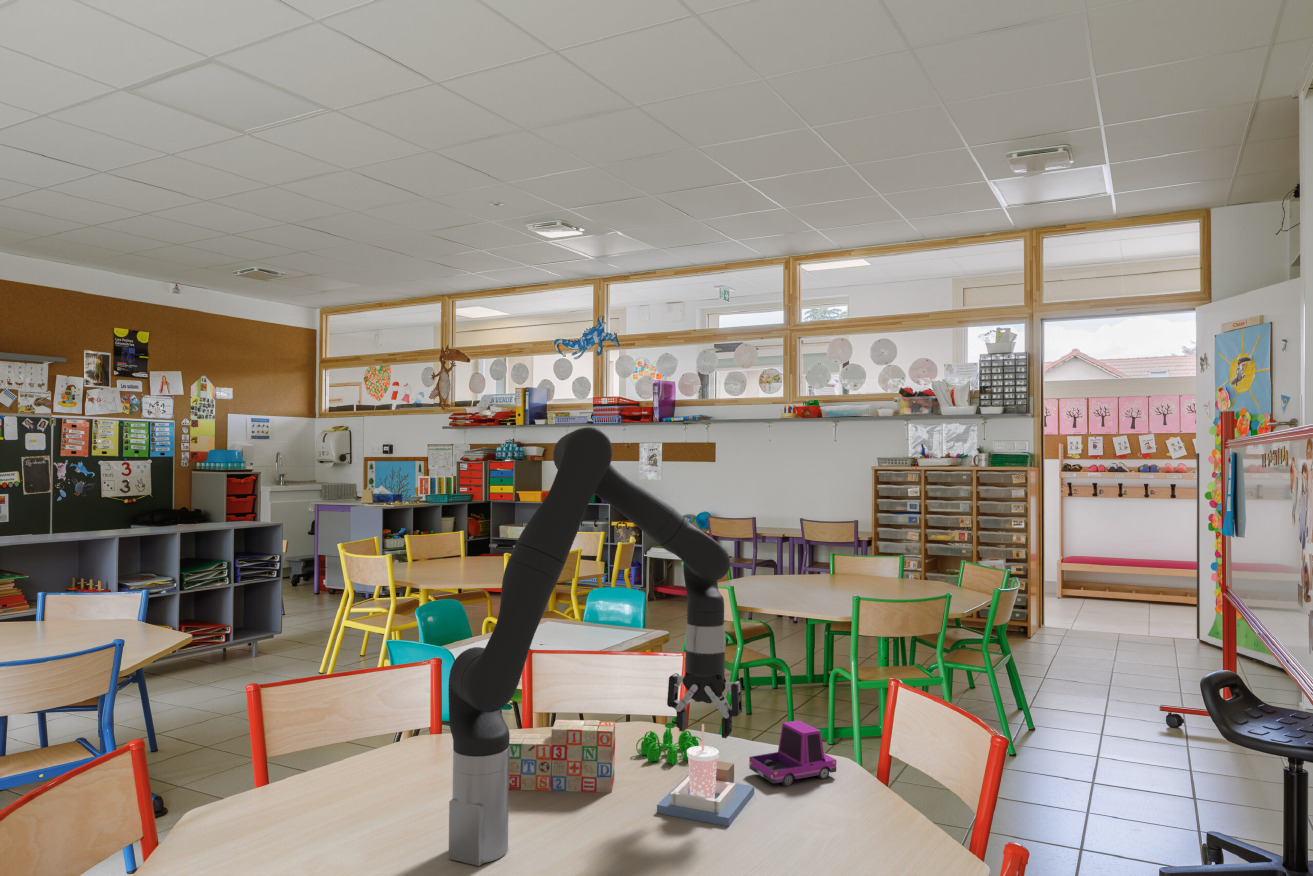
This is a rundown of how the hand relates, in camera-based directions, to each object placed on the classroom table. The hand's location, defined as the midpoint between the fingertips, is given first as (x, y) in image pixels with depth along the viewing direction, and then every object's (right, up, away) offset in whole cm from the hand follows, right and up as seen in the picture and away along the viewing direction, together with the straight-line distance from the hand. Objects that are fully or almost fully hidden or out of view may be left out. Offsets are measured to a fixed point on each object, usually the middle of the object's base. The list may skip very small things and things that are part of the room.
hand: (703, 733), depth 158 cm
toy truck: (+19, -15, +16) cm, 29 cm away
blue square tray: (+1, -14, +2) cm, 14 cm away
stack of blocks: (-28, -14, +10) cm, 33 cm away
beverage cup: (0, -13, 0) cm, 13 cm away
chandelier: (-6, -15, +28) cm, 32 cm away
